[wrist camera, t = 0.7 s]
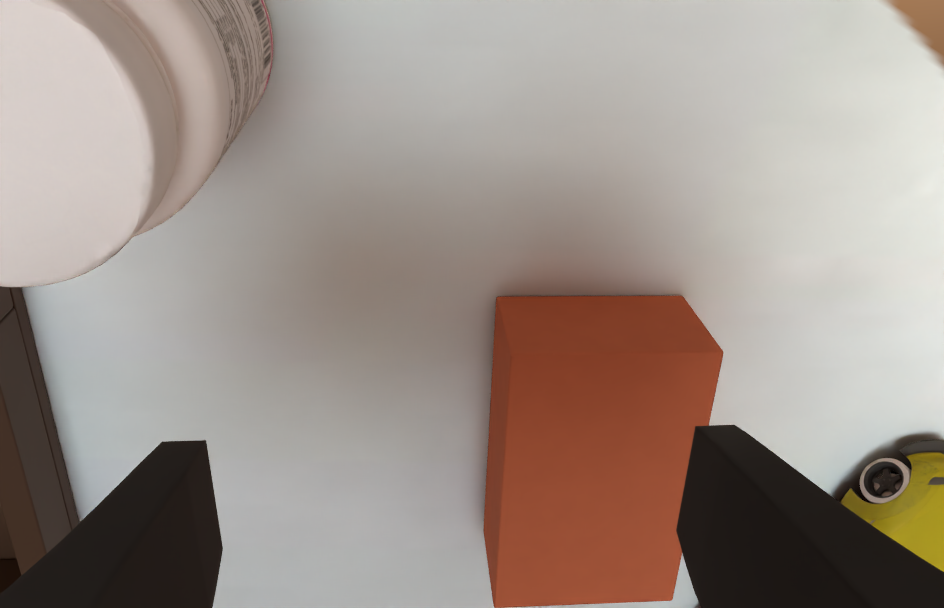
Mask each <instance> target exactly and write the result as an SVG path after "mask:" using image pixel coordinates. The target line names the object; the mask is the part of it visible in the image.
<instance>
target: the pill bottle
mask: <svg viewBox="0 0 944 608" xmlns="http://www.w3.org/2000/svg"><path fill="white" fill-rule="evenodd" d="M272 61H273V33H272V27H271V21H270V18H269V14H268V11H267V8H266V5H265V2H264V0H0V286H2V287H30V286H41V285H49V284H53V283H57V282H61V281H65V280H68V279H72V278H75V277H77V276H80V275H82V274H85V273H87V272H89V271H91V270H92V269H94V268H96V267H98V266H100V265H102V264H103V263H105V262H106V261H107V260H109V259H110V258H111V257H113V256H114V255H115V254H116V253H118V252H119V251H120V250H121V249H122V248H123V247H124V246H125V245H126V244H127V243H128V242H129V240H130V239H131V238H132V237H134V236H137V235H139V234H142V233H144V232H146V231H148V230H150V229H153V228H154V227H156V226H158V225H160V224H162V223H163V222H165V221H166V220H168V219H169V218H171V217H172V216H173V215H174V214H176V213H177V212H178V211H179V210H180V209H182V208H183V207H184V206H185V205H186V204H187V203H188V202H189V201H190V200H191V198H192V197H193V196H194V195H195V194H196V193H197V192H198V191H199V189H200V188H201V187H202V186H203V184H204V183H205V182H206V181H207V179H208V178H209V176H210V175H211V173H212V172H213V170H214V169H215V167H216V166H217V164H218V163H219V161H220V160H221V158H222V156H223V155H224V153H225V152H226V150H227V149H228V148H229V146H230V144H231V143H232V142H233V140H234V139H235V137H236V136H237V134H238V133H239V131H240V130H241V128H242V127H243V125H244V124H245V122H246V121H247V120H248V118H249V116H250V115H251V113H252V112H253V110H254V109H255V107H256V106H257V104H258V103H259V101H260V99H261V97H262V95H263V93H264V91H265V89H266V86H267V83H268V80H269V76H270V72H271V67H272Z"/></svg>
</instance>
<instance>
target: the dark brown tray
mask: <svg viewBox="0 0 944 608" xmlns="http://www.w3.org/2000/svg"><path fill="white" fill-rule="evenodd" d="M78 524H79V521H78V517H77V513H76V509H75V505H74V501H73V497H72V493H71V489H70V485H69V481H68V477H67V473H66V469H65V465H64V461H63V457H62V453H61V449H60V444H59V440H58V436H57V432H56V428H55V424H54V420H53V416H52V412H51V408H50V404H49V400H48V396H47V392H46V388H45V384H44V380H43V376H42V372H41V368H40V364H39V360H38V356H37V352H36V348H35V343H34V339H33V335H32V331H31V327H30V323H29V319H28V315H27V311H26V307H25V303H24V299H23V295H22V291H21V287H2V286H0V594H1V593H2V592H3V591H5V590H6V589H7V588H8V587H9V586H10V585H11V584H13V583H14V582H15V581H16V580H17V579H18V578H19V577H21V576H22V575H23V574H24V573H25V572H26V571H27V570H29V569H30V568H31V567H32V566H33V565H34V564H35V563H36V562H38V561H39V560H40V559H41V558H42V557H43V556H44V555H46V554H47V553H48V552H49V551H50V550H51V549H52V548H54V547H55V546H56V545H57V544H58V543H59V542H60V541H61V540H62V539H63V538H64V537H65V536H66V535H67V534H68V533H70V532H71V531H72V530H73V529H74V528H75V527H76V526H77V525H78Z"/></svg>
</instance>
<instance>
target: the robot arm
mask: <svg viewBox="0 0 944 608" xmlns="http://www.w3.org/2000/svg"><path fill="white" fill-rule="evenodd" d="M676 532H677V535H678V539H679V542H680V546H681V549H682V553H683V556H684V560H685V563H686V566H687V569H688V573H689V576H690V579H691V582H692V585H693V588H694V591H695V594H696V596H697V598H698V601H699V603H700V605H701V608H944V572H943V571H941V570H940V569H938V568H937V567H935V566H933V565H932V564H930V563H928V562H927V561H925V560H924V559H922V558H920V557H919V556H917V555H916V554H914V553H913V552H911V551H910V550H908V549H907V548H905V547H904V546H902V545H901V544H899V543H898V542H896V541H895V540H893V539H892V538H890V537H889V536H887V535H886V534H884V533H882V532H881V531H879V530H878V529H877V528H875V527H874V526H872V525H871V524H869V523H868V522H866V521H865V520H864V519H862V518H861V517H859V516H858V515H856V514H855V513H854V512H852V511H851V510H849V509H848V508H847V507H845V506H844V505H842V504H841V503H840V502H838V501H837V500H836V499H834V498H833V497H832V496H830V495H829V494H827V493H826V492H825V491H823V490H822V489H821V488H819V487H818V486H817V485H815V484H814V483H813V482H811V481H810V480H809V479H807V478H806V477H805V476H803V475H802V474H801V473H799V472H798V471H797V470H795V469H794V468H793V467H791V466H790V465H789V464H787V463H786V462H785V461H784V460H782V459H781V458H780V457H778V456H777V455H776V454H774V453H773V452H772V451H770V450H769V449H768V448H766V447H765V446H764V445H762V444H761V443H760V442H758V441H757V440H756V439H754V438H753V437H751V436H750V435H749V434H747V433H746V432H744V431H743V430H741V429H740V428H738V427H737V426H735V425H716V426H695V431H694V436H693V441H692V447H691V452H690V458H689V463H688V469H687V474H686V479H685V485H684V490H683V496H682V501H681V506H680V512H679V517H678V523H677V528H676ZM222 550H223V547H222V541H221V534H220V528H219V522H218V515H217V509H216V502H215V496H214V489H213V483H212V476H211V470H210V463H209V457H208V450H207V444H206V440H203V441H169V442H162V443H160V444H159V445H158V446H157V447H156V448H155V449H154V450H153V451H152V452H151V453H150V454H149V455H148V456H147V457H146V458H145V459H144V460H143V461H142V462H141V463H140V464H139V465H138V466H137V467H136V468H135V469H134V470H133V471H132V472H131V473H130V474H129V475H128V476H127V477H126V478H125V479H124V480H123V481H122V482H121V483H120V484H119V485H118V486H117V487H116V488H115V489H114V490H113V491H112V492H111V493H110V494H109V495H108V496H107V497H106V498H105V499H104V500H103V501H102V502H101V503H100V504H99V505H98V506H97V507H96V508H95V509H94V510H93V511H92V512H90V513H89V514H88V515H87V516H86V517H85V518H84V519H83V520H82V521H81V522H80V523H79V524H78V525H77V526H76V527H75V528H74V529H73V530H72V531H71V532H70V533H68V534H67V535H66V536H65V537H64V538H63V539H62V540H61V541H60V542H59V543H58V544H57V545H56V546H55V547H54V548H52V549H51V550H50V551H49V552H48V553H47V554H46V555H44V556H43V557H42V558H41V559H40V560H39V561H38V562H36V563H35V564H34V565H33V566H32V567H31V568H30V569H29V570H27V571H26V572H25V573H24V574H23V575H22V576H21V577H19V578H18V579H17V580H16V581H15V582H14V583H13V584H11V585H10V586H9V587H8V588H7V589H6V590H5V591H3V592H2V593H1V594H0V608H212V607H213V601H214V596H215V591H216V586H217V580H218V574H219V568H220V562H221V556H222Z"/></svg>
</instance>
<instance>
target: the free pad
mask: <svg viewBox="0 0 944 608" xmlns="http://www.w3.org/2000/svg"><path fill="white" fill-rule="evenodd" d="M722 358H723V351H722V349H721V348H720V346H719V345H718V344H717V342H716V341H715V340H714V338H713V337H712V335H711V334H710V333H709V331H708V330H707V329H706V327H705V326H704V324H703V323H702V322H701V320H700V319H699V318H698V316H697V315H696V313H695V312H694V311H693V309H692V308H691V307H690V305H689V304H688V302H687V301H686V300H685V298H684V297H683V296H518V297H497V298H496V311H495V329H494V348H493V366H492V384H491V402H490V421H489V439H488V457H487V476H486V494H485V512H484V538H485V545H486V553H487V560H488V567H489V575H490V582H491V590H492V597H493V604H494V607H495V608H501V607H526V606H550V605H574V604H599V603H623V602H648V601H671V600H672V599H673V594H674V589H675V585H676V580H677V575H678V570H679V565H680V560H681V556H682V549H681V546H680V542H679V539H678V535H677V532H676V528H677V523H678V517H679V512H680V506H681V501H682V496H683V490H684V485H685V479H686V474H687V469H688V463H689V458H690V452H691V447H692V441H693V436H694V431H695V426H708V425H709V420H710V416H711V411H712V406H713V401H714V396H715V391H716V387H717V382H718V377H719V372H720V367H721V362H722Z"/></svg>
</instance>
